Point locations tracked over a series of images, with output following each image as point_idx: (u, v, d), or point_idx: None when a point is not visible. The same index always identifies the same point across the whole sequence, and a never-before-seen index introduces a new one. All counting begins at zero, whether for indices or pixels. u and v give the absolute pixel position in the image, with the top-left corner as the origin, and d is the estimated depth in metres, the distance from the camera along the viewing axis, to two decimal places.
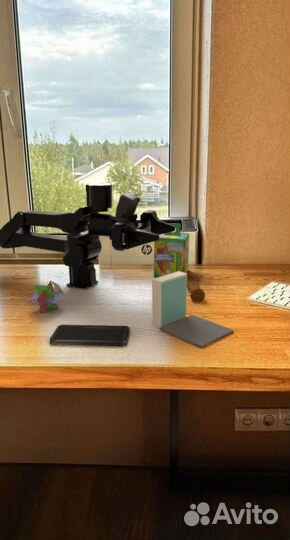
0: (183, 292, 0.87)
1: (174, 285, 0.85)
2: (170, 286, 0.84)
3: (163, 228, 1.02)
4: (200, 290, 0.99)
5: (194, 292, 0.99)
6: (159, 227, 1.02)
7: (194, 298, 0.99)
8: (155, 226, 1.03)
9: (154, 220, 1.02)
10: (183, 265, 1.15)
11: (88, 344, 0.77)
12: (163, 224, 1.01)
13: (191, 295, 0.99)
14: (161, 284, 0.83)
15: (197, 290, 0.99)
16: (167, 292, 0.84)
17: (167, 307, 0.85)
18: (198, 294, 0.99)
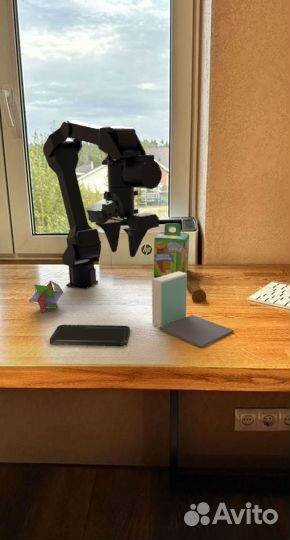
0: (183, 292, 0.87)
1: (174, 285, 0.85)
2: (170, 286, 0.84)
3: None
4: (202, 291, 0.98)
5: (196, 293, 0.98)
6: None
7: (196, 299, 0.99)
8: None
9: None
10: (183, 265, 1.15)
11: (88, 344, 0.77)
12: None
13: (193, 296, 0.99)
14: (161, 284, 0.83)
15: (199, 291, 0.98)
16: (167, 292, 0.84)
17: (167, 307, 0.85)
18: (200, 295, 0.98)
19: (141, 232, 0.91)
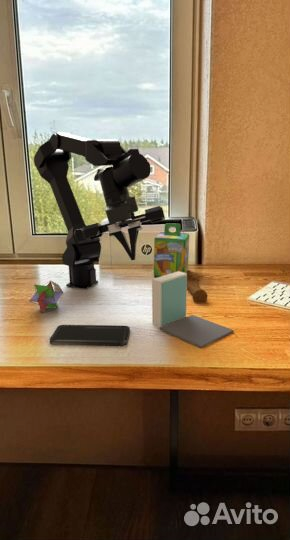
0: (183, 292, 0.87)
1: (174, 285, 0.85)
2: (170, 286, 0.84)
3: None
4: (202, 291, 0.98)
5: (196, 293, 0.98)
6: None
7: (196, 299, 0.98)
8: None
9: None
10: (183, 265, 1.15)
11: (88, 344, 0.77)
12: None
13: (193, 296, 0.98)
14: (161, 284, 0.83)
15: (199, 291, 0.98)
16: (167, 292, 0.84)
17: (167, 307, 0.85)
18: (200, 295, 0.98)
19: (135, 234, 0.94)
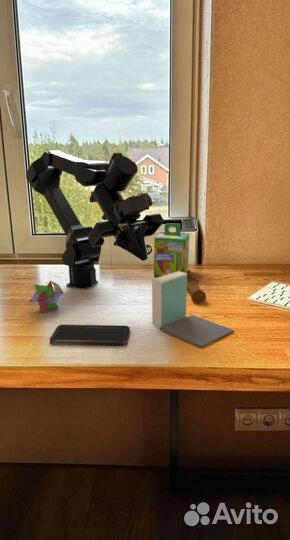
0: (183, 292, 0.87)
1: (174, 285, 0.85)
2: (170, 286, 0.84)
3: None
4: (201, 291, 0.98)
5: (195, 293, 0.98)
6: None
7: (195, 299, 0.98)
8: None
9: (137, 234, 0.91)
10: (183, 265, 1.15)
11: (88, 344, 0.77)
12: (140, 246, 0.91)
13: (192, 296, 0.98)
14: (161, 284, 0.83)
15: (198, 291, 0.98)
16: (167, 292, 0.84)
17: (167, 307, 0.85)
18: (199, 295, 0.98)
19: None
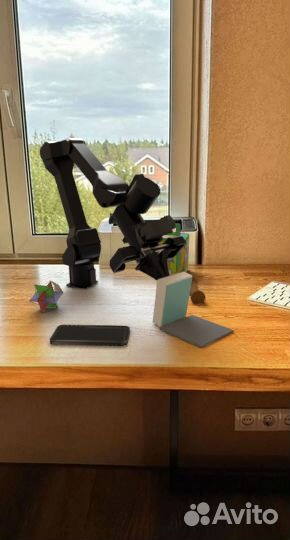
0: (186, 294, 0.87)
1: (178, 287, 0.84)
2: (174, 288, 0.83)
3: None
4: (201, 292, 0.97)
5: (195, 294, 0.97)
6: None
7: (195, 300, 0.97)
8: None
9: (160, 258, 0.88)
10: (183, 265, 1.15)
11: (88, 344, 0.77)
12: (164, 271, 0.87)
13: (192, 297, 0.98)
14: (166, 286, 0.82)
15: (198, 292, 0.97)
16: (171, 294, 0.83)
17: (169, 308, 0.84)
18: (199, 296, 0.97)
19: None
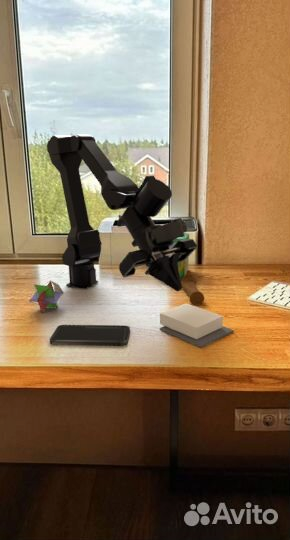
0: None
1: None
2: None
3: None
4: (199, 293, 0.97)
5: (193, 295, 0.97)
6: None
7: (193, 301, 0.97)
8: None
9: (171, 263, 0.85)
10: (183, 265, 1.15)
11: (88, 344, 0.77)
12: (174, 275, 0.85)
13: (190, 298, 0.97)
14: (195, 338, 0.79)
15: (196, 293, 0.97)
16: None
17: None
18: (197, 297, 0.97)
19: None
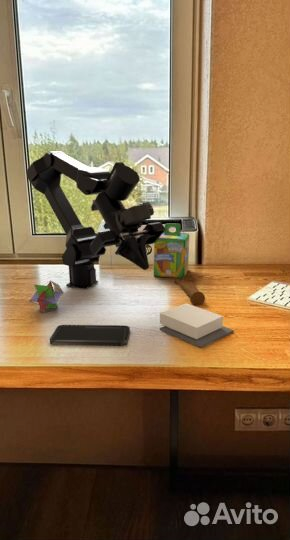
0: None
1: None
2: None
3: None
4: (200, 293, 0.97)
5: (194, 295, 0.97)
6: None
7: (194, 301, 0.97)
8: None
9: (139, 243, 0.92)
10: (183, 265, 1.15)
11: (88, 344, 0.77)
12: (142, 255, 0.91)
13: (191, 298, 0.97)
14: (195, 338, 0.79)
15: (197, 293, 0.97)
16: None
17: None
18: (198, 297, 0.97)
19: None
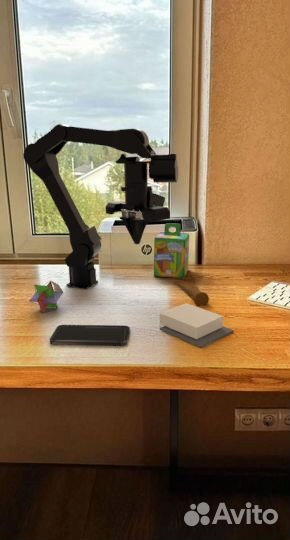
0: None
1: None
2: None
3: None
4: (204, 294, 0.96)
5: (198, 296, 0.96)
6: None
7: (198, 302, 0.96)
8: None
9: None
10: (183, 265, 1.15)
11: (88, 344, 0.77)
12: None
13: (195, 299, 0.96)
14: (195, 338, 0.79)
15: (201, 294, 0.96)
16: None
17: None
18: (202, 298, 0.96)
19: None
